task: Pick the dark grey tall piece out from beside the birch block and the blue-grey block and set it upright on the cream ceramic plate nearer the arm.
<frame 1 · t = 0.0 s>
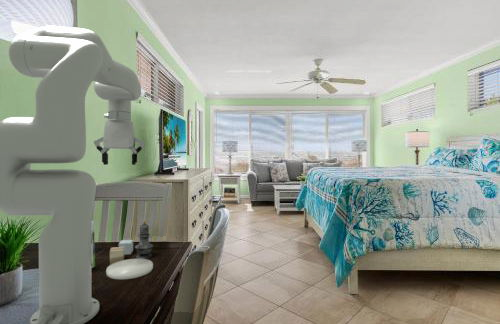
hand: (119, 164, 106), 31 cm above the table, tool pointing down, fingers open, 9 cm apart
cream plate: (130, 270, 88), on the table
dark grey tall piece: (144, 256, 100), on the table
birch block: (117, 261, 95), on the table
blue-grey block: (126, 252, 104), on the table
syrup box: (80, 270, 88), on the table
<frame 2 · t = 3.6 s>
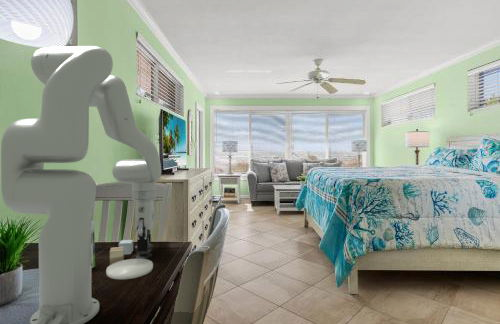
hand: (144, 247, 100), 3 cm above the table, tool pointing down, fingers closed on dark grey tall piece, 5 cm apart
dark grey tall piece: (144, 256, 100), on the table, touching gripper
everything else where it was.
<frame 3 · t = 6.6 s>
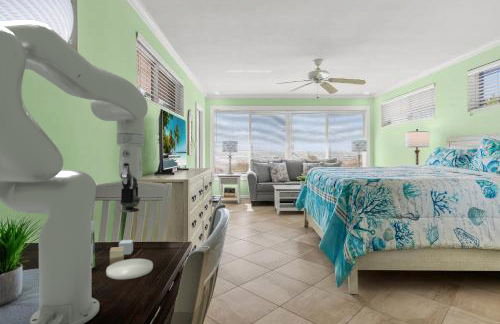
hand: (130, 200, 87), 21 cm above the table, tool pointing down, fingers closed on dark grey tall piece, 5 cm apart
dark grey tall piece: (130, 211, 87), point 18 cm above the table, touching gripper
everything else where it was.
when the fingers open (6 cm above the table, at t = 10.0 s): dark grey tall piece drops 1 cm, resting on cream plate.
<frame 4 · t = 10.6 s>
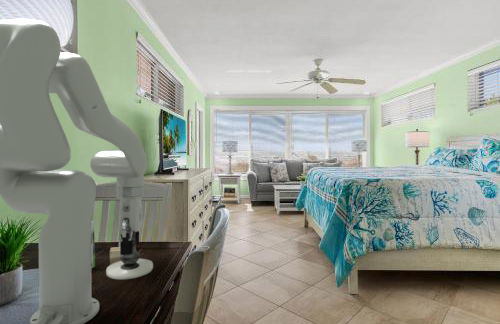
hand: (130, 248, 88), 7 cm above the table, tool pointing down, fingers open, 9 cm apart
dark grey tall piece: (130, 266, 88), point 1 cm above the table, touching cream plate
everything else where it was.
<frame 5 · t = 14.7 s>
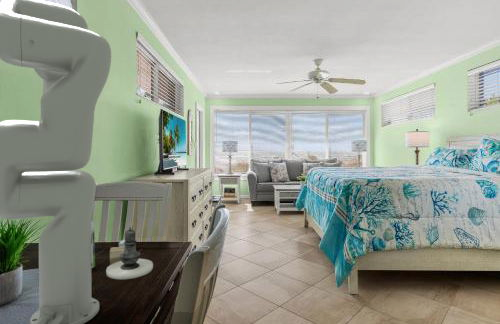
hand: (58, 159, 89), 33 cm above the table, tool pointing down, fingers open, 9 cm apart
nothing on the table moved.
at the end: dark grey tall piece inside the target area on the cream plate (0.1 cm from its centre), point 1.0 cm above the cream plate's base; dark grey tall piece tilted 1°; the gripper is holding nothing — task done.
